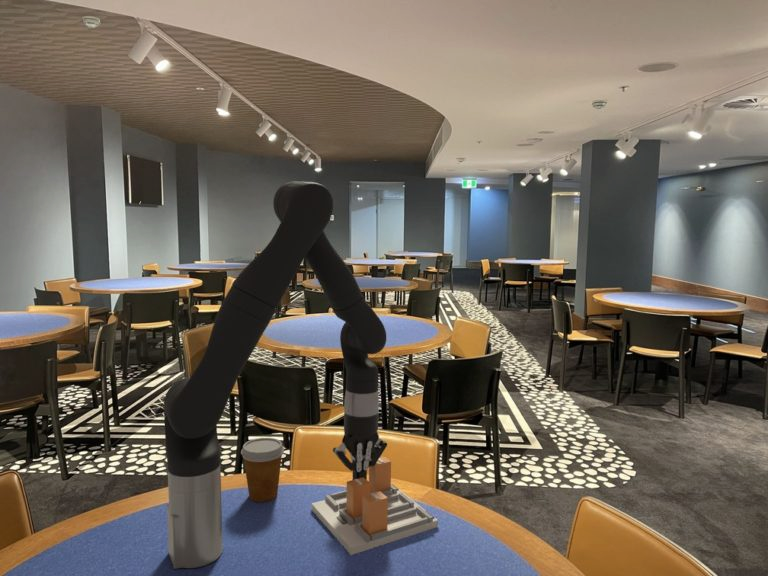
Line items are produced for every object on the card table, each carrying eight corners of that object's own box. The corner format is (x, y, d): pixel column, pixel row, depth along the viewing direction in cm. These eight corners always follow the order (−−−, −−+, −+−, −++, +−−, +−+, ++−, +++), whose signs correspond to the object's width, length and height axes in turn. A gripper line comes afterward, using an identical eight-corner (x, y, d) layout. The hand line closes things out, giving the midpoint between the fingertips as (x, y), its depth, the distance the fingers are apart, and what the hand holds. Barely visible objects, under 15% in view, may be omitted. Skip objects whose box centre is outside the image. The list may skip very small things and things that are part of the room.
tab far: (375, 495, 123) (375, 464, 123) (368, 489, 126) (369, 459, 125) (390, 490, 125) (391, 460, 125) (384, 485, 128) (384, 455, 127)
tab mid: (353, 520, 113) (353, 486, 112) (346, 513, 115) (346, 480, 115) (370, 515, 115) (370, 482, 114) (363, 508, 117) (363, 476, 117)
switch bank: (351, 555, 104) (351, 542, 104) (311, 510, 120) (311, 499, 120) (437, 526, 114) (438, 515, 114) (390, 488, 130) (390, 478, 130)
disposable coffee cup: (289, 486, 131) (288, 437, 129) (277, 507, 121) (277, 454, 120) (250, 484, 132) (249, 435, 130) (235, 504, 122) (234, 452, 121)
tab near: (369, 537, 107) (369, 501, 106) (362, 529, 109) (362, 494, 109) (387, 531, 109) (387, 496, 108) (379, 524, 111) (380, 490, 111)
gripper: (341, 419, 115) (339, 499, 116) (396, 410, 121) (393, 486, 123) (326, 408, 121) (325, 484, 123) (379, 401, 128) (377, 473, 129)
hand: (359, 485), depth 123 cm, fingers closed
